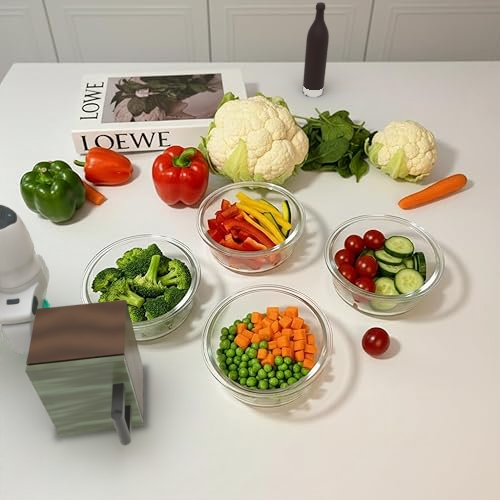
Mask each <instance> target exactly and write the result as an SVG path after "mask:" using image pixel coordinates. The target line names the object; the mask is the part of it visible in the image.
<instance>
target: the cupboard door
mask: <svg viewBox="0 0 500 500" xmlns="http://www.w3.org/2000/svg"><path fill="white" fill-rule="evenodd" d="M24 371H25V374H26V375H27V377H28V379H29V381H30V382H31V384H32V386H33V388H34V390H35V392H36V394H37V396H38V397H39V400H40V401H41V403H42V406H43V407H44V409H45V411H46V413H47V415H48V416H49V418H50V420H51V422H52V425H53V426H54V428H55V430H56V431H57V433H58V435H59V437H64V436H74V435H82V434H88V433H98V432H99V433H100V432H106V431H116V433H117V437H118V439H119V442H120V443H121V445H122V446H128V445H129V444H131V442H132V428H139V427H144V418H143V419H142V415H141V412H140V408H139V405H138V401H137V398H136V394H135V391H134V387H133V384H132V381H131V377H130V374H129V370H128V367H127V363H126V360H125V356H124V355H122V356H112V357H103V358H94V359H85V360H76V361H67V362H58V363H48V364H39V365H30V366H27V365H26V366H25V370H24Z"/></svg>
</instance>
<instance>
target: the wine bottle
mask: <svg viewBox="0 0 500 500" xmlns="http://www.w3.org/2000/svg"><path fill="white" fill-rule="evenodd" d="M325 10H326V3H324V2H316V4H315V17H314V20H313V21H312V23H311V25H310V27H309V29H308V31H307V34H306V42H305V55H304V68H303V78H302V79H303V80H302V81H303V82H302V87H303V86H304V87H305V88H306V89H309V90H320V89H322V88H323V87H325V79H326V68H327V60H328V59H327V58H328V50H329V42H330V41H329V38H330V37H329V36H330V33H329V29H328V27H327V24H326V21H325Z"/></svg>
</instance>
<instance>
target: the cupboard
mask: <svg viewBox="0 0 500 500" xmlns="http://www.w3.org/2000/svg"><path fill="white" fill-rule="evenodd" d="M122 355H124V356H125V360H126V363H127V367H128V370H129V374H130V377H131V381H132V384H133V387H134V391H135V394H136V398H137V401H138V405H139V408H140V412H141V415H142V419H143V420H144V386H145V385H144V382H145V381H144V380H145V379H144V373H145V369H144V366H143V362H142V357H141V354H140V350H139V345H138V342H137V337H136V333H135V329H134V326H133V322H132V317H131V314H130V309H129V306H128V302H127V300H126V299H120V300H113V301H112V300H111V301H101V302H91V303H90V302H89V303H81V304H71V305H70V304H69V305H61V306H50V308H40V309H36V314H35V320H34V325H33V330H32V336H31V341H30V347H29V352H28V353H27V357H26V366H30V365H39V364H48V363H58V362H67V361H76V360H85V359H94V358H103V357H112V356H122Z"/></svg>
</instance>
